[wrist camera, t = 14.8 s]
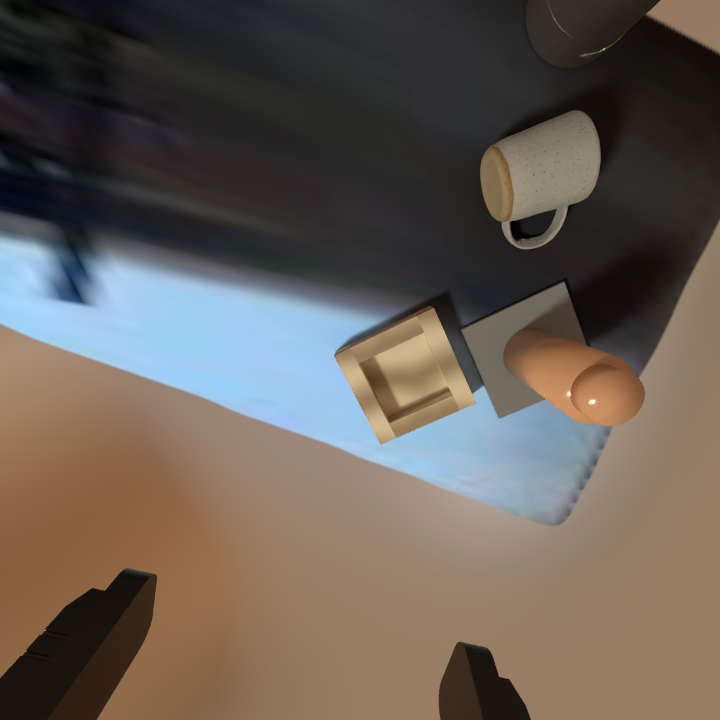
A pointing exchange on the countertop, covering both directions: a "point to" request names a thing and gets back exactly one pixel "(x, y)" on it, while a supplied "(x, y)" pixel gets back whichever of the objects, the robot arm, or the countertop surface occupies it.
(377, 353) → the holder
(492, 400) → the mat
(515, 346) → the peach capped cylinder
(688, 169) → the countertop surface
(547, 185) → the ceramic mug
